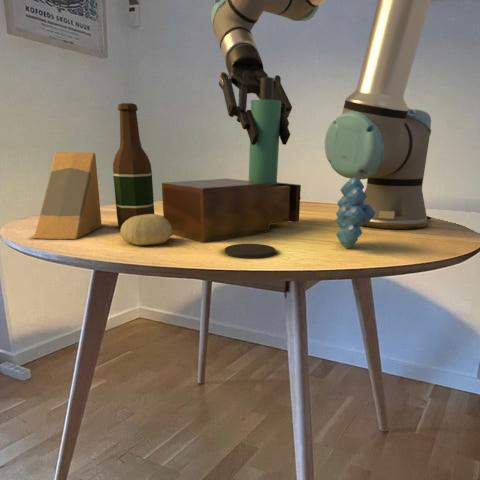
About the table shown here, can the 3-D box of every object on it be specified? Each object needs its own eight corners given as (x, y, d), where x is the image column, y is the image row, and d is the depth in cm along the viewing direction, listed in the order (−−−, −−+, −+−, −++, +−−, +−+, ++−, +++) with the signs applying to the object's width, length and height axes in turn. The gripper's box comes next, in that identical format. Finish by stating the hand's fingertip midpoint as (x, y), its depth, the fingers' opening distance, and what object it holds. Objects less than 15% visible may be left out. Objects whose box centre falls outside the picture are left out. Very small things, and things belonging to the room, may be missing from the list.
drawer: (273, 213, 113) (273, 179, 110) (312, 219, 104) (314, 183, 101) (207, 222, 101) (206, 184, 98) (245, 230, 92) (245, 189, 89)
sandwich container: (31, 238, 88) (18, 154, 82) (64, 224, 102) (54, 151, 97) (76, 239, 87) (65, 154, 82) (102, 225, 102) (95, 152, 96)
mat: (251, 244, 84) (251, 241, 84) (285, 253, 78) (285, 249, 78) (214, 251, 79) (214, 248, 78) (247, 260, 73) (247, 257, 73)
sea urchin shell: (107, 231, 85) (133, 196, 86) (137, 256, 90) (160, 224, 91) (131, 238, 78) (158, 201, 80) (162, 266, 84) (187, 230, 85)
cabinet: (227, 222, 105) (227, 178, 102) (269, 231, 96) (270, 183, 92) (164, 231, 95) (161, 182, 92) (204, 242, 85) (202, 188, 82)
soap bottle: (263, 182, 103) (267, 80, 96) (282, 184, 99) (288, 78, 92) (242, 183, 99) (245, 77, 92) (262, 185, 95) (266, 75, 88)
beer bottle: (162, 225, 101) (155, 104, 92) (138, 231, 95) (128, 101, 86) (135, 222, 105) (126, 105, 96) (110, 228, 98) (98, 102, 90)
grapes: (380, 256, 76) (389, 179, 72) (338, 255, 76) (345, 179, 72) (364, 241, 87) (371, 174, 83) (328, 240, 87) (333, 173, 83)
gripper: (276, 76, 108) (306, 152, 100) (196, 72, 102) (221, 153, 93) (287, 45, 101) (320, 125, 93) (203, 39, 95) (230, 124, 87)
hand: (271, 139), depth 93 cm, fingers closed on soap bottle, 6 cm apart
